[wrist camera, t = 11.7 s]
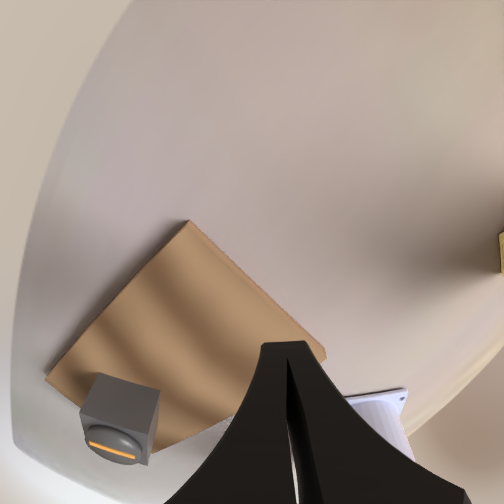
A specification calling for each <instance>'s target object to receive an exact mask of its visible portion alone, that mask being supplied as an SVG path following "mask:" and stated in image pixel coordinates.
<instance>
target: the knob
mask: <svg viewBox="0 0 504 504" xmlns="http://www.w3.org/2000/svg"><path fill="white" fill-rule="evenodd" d="M160 393H161V390H158V389H154V388H150V387H147V386H143V385H140V384H136V383H133V382H129V381H126V380H123V379H119V378H116V377H113V376H110V375H107V374H104V373H100V372H99V374H98V376H97V378H96V380H95V382H94V384H93V385H92V387H91V389H90V391H89V393H88V395H87V397H86V400H85V402H84V404H83V406H82V408H81V410H80V412H79V414H80V418H81V422H82V426H83V430H84V434H85V441H86V444H87V445H88V447H90V449H92V450H93V451H94V452H95V453H97V454H98V455H100V456H101V457H103V458H105V459H107V460H110V461H112V462H115V463H119V464H124V465H133V464H137V463H140V464H143V465H147V466H148V462H149V458H150V454H151V450H152V446H153V442H154V438H155V434H156V431H157V427H158V416H159V404H160Z"/></svg>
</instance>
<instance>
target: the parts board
mask: <svg viewBox="0 0 504 504" xmlns="http://www.w3.org/2000/svg"><path fill="white" fill-rule="evenodd" d="M300 340H305V341H306V342H307V343H308V345H309V347H310V349H311V350H312V352H313V354H314V356H315V357H316V359H317V361H318V362H319V363H321V362H322V361H324V360H325V359H327V356H326V353H325V349H324V347H323V346H322V345H321V344H320V343H319V342H318V341H316V340H315V339H314V338H313V337H312V336H311V335H310V334H309V333H308V332H307V331H306V330H305V329H304V328H302V327H301V326H300V325H299V324H298V323H297V322H296V321H295V320H294V319H293V318H292V317H291V316H290V315H289V314H288V313H286V312H285V311H284V310H283V309H282V308H281V307H280V306H279V305H278V304H277V303H276V302H275V301H274V300H273V299H272V298H271V297H270V296H268V295H267V294H266V293H265V292H264V291H263V290H262V289H261V288H260V287H259V286H258V285H257V284H256V283H255V282H254V281H253V280H252V279H251V278H250V277H248V276H247V275H246V274H245V273H244V272H243V271H242V270H241V269H240V268H239V267H238V266H237V265H236V264H235V263H234V262H233V261H232V260H231V259H230V258H229V257H228V256H227V255H225V254H224V253H223V252H222V251H221V250H220V249H219V248H218V247H217V246H216V245H215V244H214V243H213V242H212V241H211V240H210V239H209V238H208V237H207V236H206V235H205V234H204V233H203V232H202V231H201V230H200V229H199V228H198V227H197V226H196V225H195V224H194V223H192V222H191V221H190V220H189V221H188V222H187V223H186V224H185V225H184V226H183V227H182V228H181V229H180V230H179V231H178V232H177V233H176V234H175V235H174V236H173V237H172V238H171V239H170V240H169V241H168V242H167V243H166V244H165V245H164V246H163V247H162V248H161V249H160V250H159V251H158V252H157V253H156V254H155V255H154V256H153V257H152V258H151V259H150V260H149V261H148V262H147V263H146V265H145V266H144V267H143V268H142V269H141V270H140V271H139V272H138V273H137V274H136V275H135V276H134V277H133V278H132V279H131V280H130V281H129V282H128V283H127V285H126V286H125V287H124V288H123V289H122V290H121V291H120V292H119V293H118V294H117V295H116V296H115V298H114V299H113V300H112V301H111V302H110V303H109V304H108V305H107V306H106V307H105V308H104V310H103V311H102V312H101V313H100V314H99V315H98V316H97V317H96V318H95V320H94V321H93V322H92V323H91V324H90V325H89V326H88V328H87V329H86V330H85V331H84V332H83V333H82V334H81V336H80V337H79V338H78V339H77V340H76V341H75V342H74V344H73V345H72V346H71V347H70V348H69V349H68V351H67V352H66V353H65V354H64V355H63V357H62V358H61V359H60V360H59V361H58V363H57V364H56V365H55V366H54V367H53V369H52V370H51V371H50V372H49V374H48V375H47V377H46V379H45V380H46V381H47V382H48V383H49V384H50V385H52V386H53V387H54V388H55V389H57V390H58V391H59V392H60V393H62V394H63V395H64V396H65V397H67V398H68V399H69V400H71V401H72V402H73V403H75V404H76V405H77V406H79V407H80V408H82V406H83V404H84V402H85V400H86V397H87V395H88V393H89V391H90V389H91V387H92V385H93V384H94V382H95V380H96V378H97V376H98V374H99V372H100V373H104V374H107V375H110V376H113V377H116V378H119V379H123V380H126V381H129V382H133V383H136V384H140V385H143V386H147V387H150V388H154V389H158V390H161V393H160V404H159V416H158V427H157V431H156V434H155V438H154V442H153V446H152V450H151V453H152V454H153V453H155V452H157V451H160V450H162V449H164V448H166V447H169V446H171V445H173V444H175V443H178V442H180V441H182V440H184V439H186V438H188V437H190V436H192V435H195V434H197V433H199V432H201V431H203V430H205V429H207V428H209V427H211V426H213V425H215V424H217V423H219V422H220V421H222V420H224V419H226V418H228V417H230V416H232V415H234V414H236V413H237V411H238V409H239V407H240V405H241V403H242V401H243V399H244V397H245V395H246V393H247V391H248V388H249V386H250V383H251V381H252V378H253V375H254V373H255V370H256V367H257V363H258V360H259V355H260V349H261V345H262V344H263V343H264V342H284V341H300Z"/></svg>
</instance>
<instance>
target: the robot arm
mask: <svg viewBox="0 0 504 504" xmlns="http://www.w3.org/2000/svg"><path fill="white" fill-rule="evenodd" d="M407 396H408V391H407V389H400V390H394V391H389V392H383V393H377V394H370V395H363V396H356V397H349V398H344V397H343V396H342V394H341V393H340V392H339V391H338V389H337V388H336V387H335V385H334V384H333V383H332V381H331V380H330V378H329V377H328V376H327V374H326V373H325V371H324V370H323V368H322V367H321V365H320V364H319V362H318V361H317V359H316V357H315V356H314V354H313V352H312V350H311V349H310V347H309V345H308V343H307V342H306V341H305V340H300V341H284V342H264V343H263V344H262V345H261V349H260V355H259V360H258V363H257V367H256V370H255V373H254V375H253V378H252V381H251V383H250V386H249V388H248V391H247V393H246V395H245V397H244V399H243V401H242V403H241V405H240V407H239V409H238V411H237V413H236V415H235V417H234V418H233V420H232V422H231V424H230V425H229V427H228V429H227V430H226V432H225V433H224V435H223V436H222V438H221V439H220V441H219V442H218V444H217V445H216V447H215V448H214V449H213V451H212V452H211V453H210V455H209V456H208V457H207V459H206V460H205V461H204V462H203V464H202V465H201V466H200V467H199V468H198V470H197V471H196V472H195V473H194V474H193V475H192V476H191V477H190V478H189V479H188V481H187V482H186V483H185V484H184V485H183V486H182V487H181V488H180V489H179V490H178V491H177V492H176V493H175V494H174V495H173V496H172V497H171V498H170V499H169V500H167V501H166V502H165V503H164V504H297V503H296V495H295V487H294V480H293V472H292V463H291V455H290V446H289V437H288V430H289V435H290V441H291V446H292V452H293V457H294V462H295V468H296V474H297V482H298V495H299V504H472V503H471V501H470V499H469V497H468V496H467V494H466V492H465V490H464V489H462V488H460V487H458V486H456V485H454V484H452V483H450V482H448V481H446V480H444V479H442V478H440V477H439V476H437V475H435V474H433V473H432V472H430V471H428V470H427V469H425V468H423V467H422V466H420V465H419V464H417V463H416V461H415V459H414V456H413V453H412V450H411V448H410V445H409V442H408V440H407V437H406V434H405V432H404V429H403V426H402V424H401V421H400V419H399V416H400V413H401V411H402V408H403V406H404V403H405V401H406V398H407ZM287 424H288V428H287Z"/></svg>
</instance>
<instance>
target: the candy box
mask: <svg viewBox="0 0 504 504" xmlns="http://www.w3.org/2000/svg"><path fill="white" fill-rule="evenodd" d="M499 244H500V255H501V273H502V275H503V276H504V231H503V232H502V233H500V234H499Z"/></svg>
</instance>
